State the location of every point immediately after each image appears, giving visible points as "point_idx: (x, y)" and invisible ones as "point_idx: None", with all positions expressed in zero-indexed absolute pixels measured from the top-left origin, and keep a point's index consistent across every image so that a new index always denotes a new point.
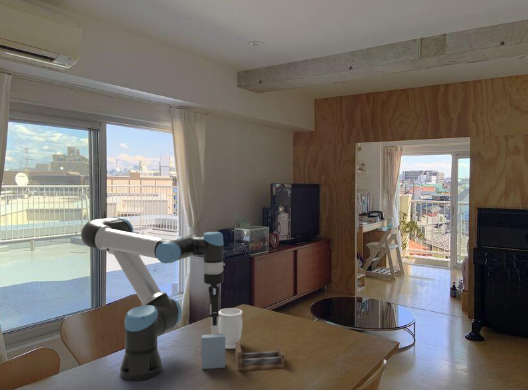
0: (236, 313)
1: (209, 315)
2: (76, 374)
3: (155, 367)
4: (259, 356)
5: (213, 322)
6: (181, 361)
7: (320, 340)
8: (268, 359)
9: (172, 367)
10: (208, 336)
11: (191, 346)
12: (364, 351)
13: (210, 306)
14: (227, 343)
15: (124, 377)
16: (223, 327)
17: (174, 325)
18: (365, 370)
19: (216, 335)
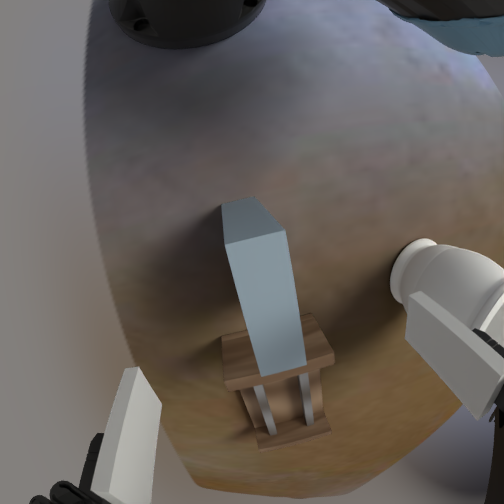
0: (499, 332)
1: (51, 493)
2: None
3: (152, 28)
4: (299, 387)
5: (90, 457)
6: (285, 101)
7: (383, 441)
8: (263, 415)
9: (226, 78)
10: (258, 285)
11: (414, 126)
12: (322, 485)
13: (492, 371)
14: (403, 275)
15: None
16: (444, 291)
17: (402, 16)
18: (252, 493)
19: (278, 330)
